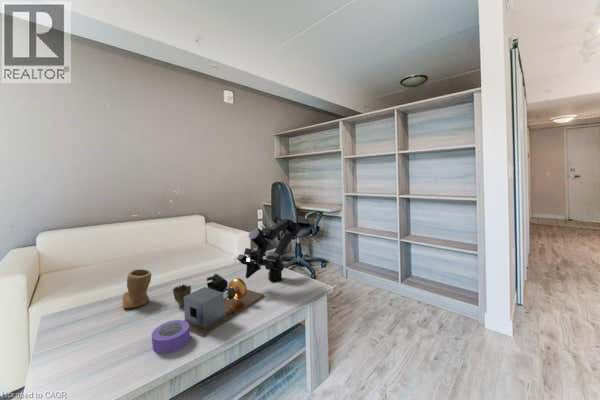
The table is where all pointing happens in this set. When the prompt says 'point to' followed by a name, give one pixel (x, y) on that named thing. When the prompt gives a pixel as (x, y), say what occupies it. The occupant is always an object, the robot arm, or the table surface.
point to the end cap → (217, 283)
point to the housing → (213, 309)
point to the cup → (181, 293)
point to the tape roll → (170, 336)
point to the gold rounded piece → (235, 290)
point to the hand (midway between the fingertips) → (246, 277)
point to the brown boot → (136, 288)
